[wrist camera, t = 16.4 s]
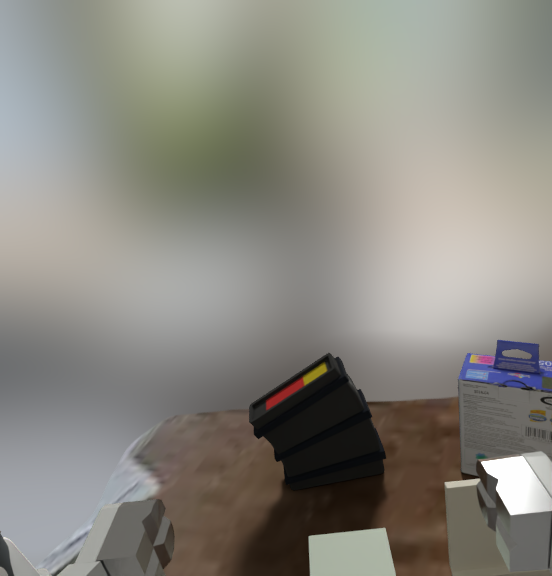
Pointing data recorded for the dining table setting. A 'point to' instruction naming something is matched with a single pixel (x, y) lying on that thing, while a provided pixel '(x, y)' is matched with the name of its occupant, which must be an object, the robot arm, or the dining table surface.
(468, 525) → the carton
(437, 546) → the dining table surface
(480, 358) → the ink cartridge box
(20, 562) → the robot arm
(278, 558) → the dining table surface
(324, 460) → the magazine
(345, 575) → the box
